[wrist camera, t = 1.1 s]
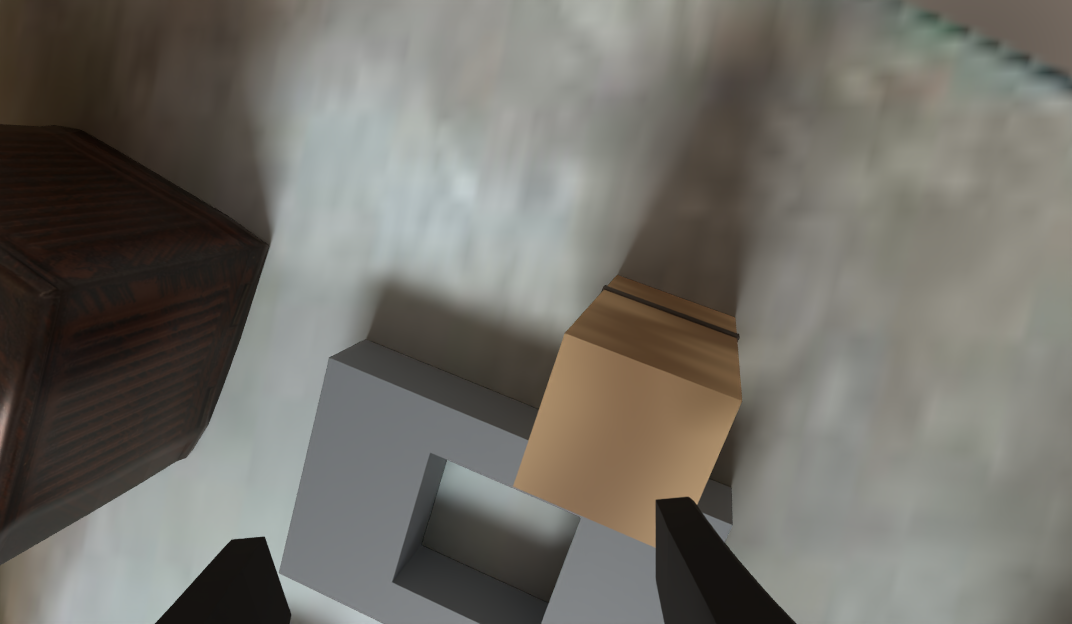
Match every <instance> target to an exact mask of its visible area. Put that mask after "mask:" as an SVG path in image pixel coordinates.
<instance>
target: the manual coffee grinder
mask: <svg viewBox="0 0 1072 624" xmlns="http://www.w3.org/2000/svg"><path fill="white" fill-rule="evenodd" d="M268 249H269V245H267V244H266V243H264V242H263V241H262V240H260V239H259V238H258V237H256V236H255V235H253V234H252V233H251V232H249V231H248V230H246V229H245V228H244V227H242V226H241V225H240V224H238V223H237V222H235V221H234V220H233V219H231V218H230V217H228V216H227V215H225V214H223V213H222V212H220V211H218V210H217V209H215V208H213V207H212V206H210V205H208V204H207V203H205V202H203V201H201V200H200V199H198V198H196V197H195V196H193V195H191V194H190V193H188V192H186V191H185V190H183V189H181V188H180V187H178V186H176V185H175V184H173V183H171V182H169V181H168V180H166V179H164V178H163V177H161V176H159V175H158V174H156V173H154V172H153V171H151V170H149V169H148V168H146V167H144V166H142V165H141V164H139V163H137V162H136V161H134V160H132V159H131V158H129V157H127V156H126V155H124V154H122V153H121V152H119V151H117V150H115V149H114V148H112V147H110V146H108V145H107V144H105V143H103V142H101V141H100V140H98V139H96V138H94V137H93V136H91V135H89V134H87V133H86V132H84V131H82V130H78V129H72V128H67V127H62V126H56V125H52V126H41V127H37V126H20V125H4V124H0V565H1V564H3V563H5V562H7V561H8V560H10V559H12V558H14V557H15V556H17V555H19V554H20V553H22V552H24V551H26V550H27V549H29V548H31V547H33V546H34V545H36V544H38V543H39V542H41V541H43V540H45V539H46V538H48V537H50V536H52V535H53V534H55V533H57V532H58V531H60V530H62V529H64V528H65V527H67V526H69V525H71V524H72V523H74V522H76V521H78V520H79V519H81V518H83V517H84V516H86V515H88V514H90V513H91V512H93V511H95V510H96V509H98V508H100V507H101V506H103V505H105V504H107V503H108V502H110V501H112V500H113V499H115V498H117V497H118V496H120V495H122V494H123V493H125V492H127V491H128V490H130V489H132V488H134V487H135V486H137V485H139V484H140V483H142V482H144V481H145V480H147V479H148V478H150V477H152V476H153V475H155V474H157V473H158V472H160V471H161V470H163V469H165V468H166V467H168V466H170V465H171V464H173V463H174V462H176V461H178V460H181V459H184V458H186V457H187V456H188V455H189V454H190V453H191V451H192V450H193V448H194V447H195V445H196V444H197V442H198V440H199V439H200V437H201V436H202V434H203V432H204V431H205V429H206V428H207V426H208V424H209V422H210V419H211V417H212V414H213V411H214V409H215V406H216V404H217V401H218V399H219V396H220V393H221V391H222V388H223V385H224V383H225V380H226V377H227V374H228V372H229V369H230V366H231V363H232V361H233V358H234V355H235V352H236V350H237V347H238V344H239V341H240V339H241V335H242V332H243V329H244V326H245V323H246V319H247V316H248V313H249V310H250V306H251V303H252V300H253V297H254V294H255V290H256V287H257V284H258V281H259V278H260V274H261V271H262V268H263V265H264V261H265V258H266V255H267V252H268Z"/></svg>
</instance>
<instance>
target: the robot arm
mask: <svg viewBox="0 0 1072 624" xmlns="http://www.w3.org/2000/svg"><path fill="white" fill-rule="evenodd" d="M656 585H657V589H658V594H659V599H660V604H661V609H662V614H663V619H664V623H665V624H796V623H795V622H794V621H793V620H792V619H791V618H790V617H789V615H788V614H787V613H786V612H785V611H784V610H783V609H782V608H781V607H780V606H779V605H778V604H777V603H776V602H775V601H774V600H773V599H772V598H771V596H770V595H769V594H768V593H767V592H766V591H765V590H764V589H763V588H762V586H761V585H760V584H759V583H758V582H757V581H756V579H755V578H754V577H753V576H752V575H751V574H750V573H749V571H748V570H747V569H746V568H745V567H744V566H743V565H742V563H741V562H740V561H739V560H738V559H737V557H736V556H735V555H734V554H733V552H732V551H731V550H730V549H729V547H728V546H727V545H726V544H725V542H724V541H723V540H722V539H721V537H720V536H719V535H718V533H717V532H716V531H715V529H714V528H713V527H712V525H711V524H710V523H709V521H708V520H707V519H706V517H705V516H704V514H703V513H702V512H701V510H700V509H699V507H698V506H697V504H696V503H695V501H694V500H692V499H691V498H690V497H689V496H688V497H678V498H667V499H657V500H656ZM290 618H291V613H290V610H289V607H288V604H287V601H286V598H285V595H284V592H283V589H282V586H281V583H280V580H279V577H278V574H277V571H276V569H275V566H274V563H273V560H272V557H271V554H270V551H269V548H268V545H267V542H266V539H265V537H254V538H244V539H233V540H231V541H230V542H229V543H228V544H227V545H226V546H225V547H224V548H223V549H222V550H221V552H220V553H219V554H218V555H217V556H216V557H215V558H214V559H213V560H212V561H211V563H210V564H209V565H208V566H207V567H206V568H205V569H204V570H203V571H202V573H201V574H200V575H199V576H198V577H197V578H196V579H195V580H194V581H193V583H192V584H191V585H190V586H189V587H188V588H187V589H186V590H185V591H184V593H183V594H182V595H181V596H180V597H179V598H178V599H177V600H176V601H175V603H174V604H173V605H172V606H171V607H170V608H169V609H168V610H167V611H166V612H165V613H164V614H163V616H162V617H161V618H160V619H159V620H158V621H157V622H156V623H155V624H290Z"/></svg>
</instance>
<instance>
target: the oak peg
mask: <svg viewBox="0 0 1072 624" xmlns="http://www.w3.org/2000/svg"><path fill="white" fill-rule="evenodd" d="M738 340H739V334H737V332H736V320H735V317H732V316H730V315H727V314H724V313H721V312H719V311H716V310H713V309H710V308H707V307H705V306H702V305H699V304H696V303H694V302H691V301H688V300H685V299H683V298H680V297H677V296H674V295H672V294H669V293H666V292H663V291H660V290H658V289H655V288H652V287H649V286H647V285H644V284H641V283H638V282H636V281H633V280H630V279H627V278H625V277H622V276H619V275H617V276H616V277H615V278H614V279H613V280H612V281H611V282H610V284H609V285H608V286H606V285H605V286H604V287H603V289H602V292H601V294H600V295H599V296H598V297H597V298H596V299H595V300H594V301H593V302H592V304H591V305H590V306H589V307H588V308H587V309H586V310H585V311H584V312H583V314H582V315H581V316H580V317H579V318H578V319H577V320H576V321H575V322H574V324H573V325H572V326H571V327H570V328H569V329H568V330H567V331H566V332H565V334H564V337H563V340H562V343H561V346H560V349H559V352H558V355H557V358H556V361H555V364H554V367H553V370H552V373H551V376H550V378H549V381H548V384H547V387H546V390H545V393H544V396H543V399H542V402H541V405H540V408H539V411H538V414H537V417H536V420H535V423H534V426H533V429H532V432H531V435H530V438H529V441H528V444H527V446H526V449H525V452H524V455H523V458H522V461H521V464H520V467H519V470H518V473H517V476H516V479H515V482H514V485H513V487H515V488H517V489H520V490H522V491H524V492H527V493H529V494H531V495H534V496H536V497H538V498H541V499H543V500H545V501H548V502H550V503H552V504H555V505H557V506H559V507H562V508H564V509H566V510H569V511H571V512H573V513H576V514H578V515H580V516H583V517H585V518H587V519H590V520H592V521H594V522H597V523H599V524H601V525H604V526H606V527H608V528H611V529H613V530H615V531H618V532H620V533H622V534H625V535H627V536H629V537H632V538H634V539H636V540H639V541H641V542H643V543H646V544H648V545H650V546H652V547H655V548H656V500H657V499H667V498H678V497H688V496H689V497H690V498H691V499H692V500H694V501H695V503H696V504H698V502H699V500H700V497H701V495H702V493H703V490H704V488H705V486H706V483H707V481H708V479H709V476H710V474H711V472H712V470H713V467H714V465H715V463H716V460H717V458H718V456H719V453H720V451H721V449H722V446H723V444H724V442H725V439H726V437H727V435H728V433H729V430H730V428H731V426H732V423H733V421H734V419H735V416H736V414H737V412H738V409H739V407H740V405H741V402H742V393H741V381H740V369H739V357H738V344H737V342H738Z"/></svg>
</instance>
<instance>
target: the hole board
mask: <svg viewBox="0 0 1072 624" xmlns="http://www.w3.org/2000/svg"><path fill="white" fill-rule="evenodd" d="M538 411H539V409H536V408H534V407H531V406H529V405H526V404H524V403H521V402H519V401H516V400H514V399H512V398H509V397H507V396H504V395H502V394H499V393H497V392H494V391H492V390H489V389H487V388H484V387H482V386H480V385H477V384H475V383H472V382H470V381H467V380H465V379H462V378H460V377H457V376H455V375H452V374H450V373H447V372H445V371H443V370H440V369H438V368H435V367H433V366H430V365H428V364H425V363H423V362H420V361H418V360H415V359H413V358H411V357H408V356H406V355H403V354H401V353H398V352H396V351H393V350H391V349H388V348H386V347H383V346H381V345H379V344H376V343H374V342H371V341H369V340H366V339H365V340H363V341H361V342H359V343H357V344H355V345H353V346H351V347H349V348H347V349H345V350H343V351H341V352H339V353H337V354H335V355H333V356H331V357H329V361H328V365H327V369H326V374H325V378H324V382H323V386H322V391H321V395H320V399H319V403H318V408H317V412H316V416H315V421H314V425H313V429H312V433H311V438H310V442H309V446H308V451H307V455H306V459H305V463H304V468H303V472H302V476H301V480H300V485H299V489H298V493H297V498H296V502H295V506H294V510H293V515H292V519H291V523H290V527H289V532H288V536H287V540H286V545H285V549H284V553H283V557H282V562H281V566H280V570H279V573H280V574H282V575H284V576H286V577H288V578H290V579H292V580H294V581H296V582H298V583H301V584H303V585H305V586H307V587H309V588H311V589H313V590H315V591H317V592H319V593H321V594H323V595H325V596H327V597H329V598H332V599H334V600H336V601H338V602H340V603H342V604H344V605H346V606H348V607H350V608H352V609H354V610H356V611H358V612H360V613H363V614H365V615H367V616H369V617H371V618H373V619H375V620H377V621H379V622H381V623H383V624H665V623H664V619H663V614H662V609H661V604H660V599H659V594H658V589H657V585H656V548H655V547H652V546H650V545H648V544H646V543H643V542H641V541H639V540H636V539H634V538H632V537H629V536H627V535H625V534H622V533H620V532H618V531H615V530H613V529H611V528H608V527H606V526H604V525H601V524H599V523H597V522H594V521H592V520H590V519H587V518H585V517H583V516H580V515H578V514H576V513H573V512H571V511H569V510H566V509H564V508H562V507H559V506H557V505H555V504H552V503H550V502H548V501H545V500H543V499H541V498H538V497H536V496H534V495H531V494H529V493H527V492H524V491H522V490H520V489H517V488H515V487H513V485H514V482H515V479H516V476H517V473H518V470H519V467H520V464H521V461H522V458H523V455H524V452H525V449H526V446H527V444H528V441H529V438H530V435H531V432H532V429H533V426H534V423H535V420H536V417H537V414H538ZM447 460H449V461H451V462H453V463H456V464H458V465H460V466H463V467H465V468H467V469H470V470H472V471H474V472H477V473H479V474H481V475H484V476H486V477H488V478H491V479H493V480H495V481H498V482H500V483H502V484H504V485H507V486H509V487H511V488H514V489H516V490H518V491H521V492H523V493H525V494H528V495H530V496H532V497H535V498H537V499H539V500H542V501H544V502H546V503H549V504H551V505H553V506H556V507H558V508H560V509H563V510H565V511H567V512H570V513H572V514H574V515H577V516H579V517H581V519H580V522H579V524H578V527H577V530H576V532H575V535H574V538H573V540H572V543H571V546H570V548H569V551H568V554H567V556H566V559H565V561H564V564H563V567H562V569H561V572H560V575H559V577H558V580H557V583H556V585H555V588H554V591H553V593H552V596H551V599H550V601H549V603H547V602H544V601H542V600H540V599H538V598H536V597H533V596H531V595H529V594H527V593H525V592H523V591H520V590H518V589H516V588H514V587H512V586H509V585H507V584H505V583H503V582H501V581H498V580H496V579H494V578H492V577H490V576H488V575H485V574H483V573H481V572H479V571H477V570H474V569H472V568H470V567H468V566H466V565H463V564H461V563H459V562H457V561H455V560H453V559H450V558H448V557H446V556H444V555H442V554H439V553H437V552H435V551H433V550H431V549H428V548H426V547H424V546H422V545H421V544H422V540H423V537H424V534H425V531H426V527H427V524H428V521H429V517H430V514H431V511H432V507H433V504H434V501H435V497H436V494H437V491H438V487H439V484H440V481H441V478H442V474H443V471H444V468H445V464H446V461H447ZM697 506H698V507H699V509H700V510H701V512H702V513H703V514H704V516H705V517H706V519H707V520H708V521H709V523H710V524H711V525H712V527H713V528H714V529H715V531H716V532H717V533H718V535H719V536H720V537H721V539H722V540H723V541H724V542H725V541H726V539H727V536H728V534H729V532H730V530H731V528H732V525H733V522H732V488H731V487H728V486H726V485H723V484H721V483H718V482H716V481H714V480H711V479H708V481H707V483H706V486H705V488H704V490H703V493H702V495H701V497H700V500H699V502H698V504H697Z"/></svg>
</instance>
